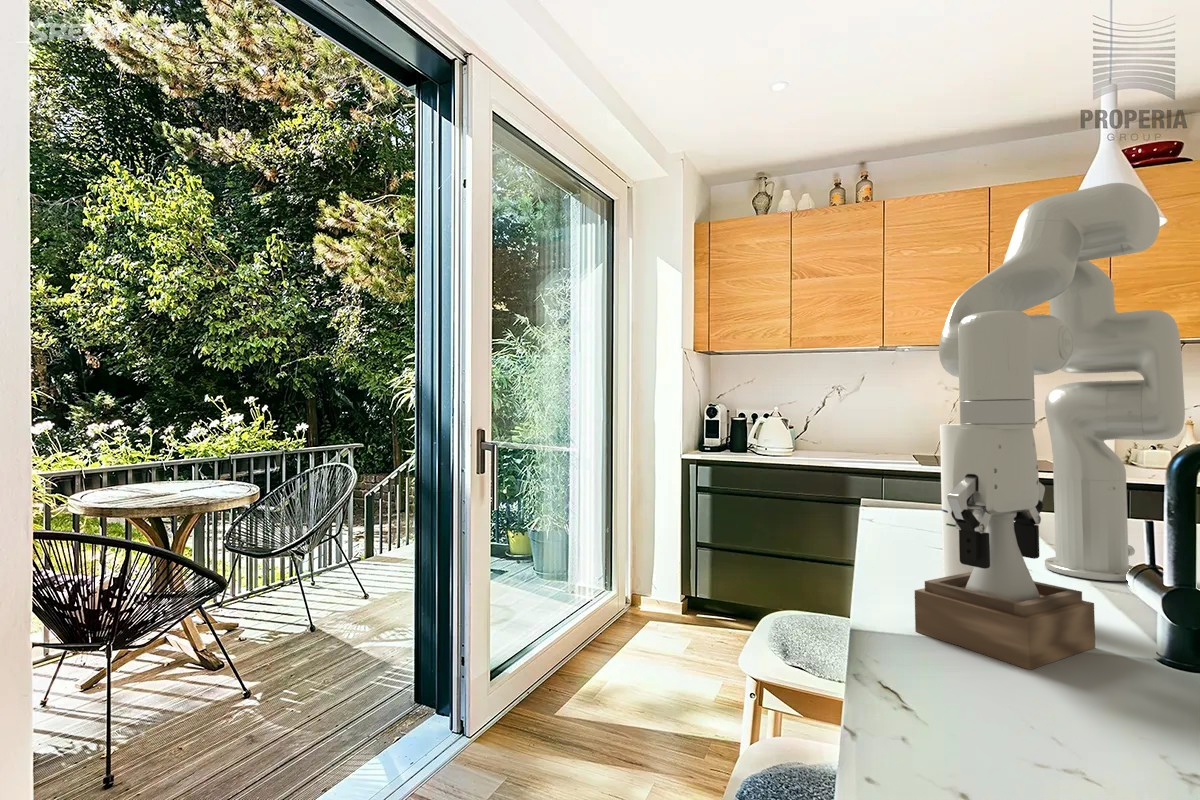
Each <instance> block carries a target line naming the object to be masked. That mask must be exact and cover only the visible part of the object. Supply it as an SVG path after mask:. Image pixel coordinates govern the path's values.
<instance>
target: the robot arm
mask: <svg viewBox="0 0 1200 800" xmlns="http://www.w3.org/2000/svg"><path fill="white" fill-rule="evenodd" d="M1160 222H1161V220H1160V214H1159V210H1158V207H1157V205H1156V203H1155V202H1154V200H1153V199H1152V198H1151V197H1150V196H1149V195H1148V194H1147V193H1146V192H1145V191H1143V190H1142V189H1141V188H1139V187H1137V186H1135V185H1133V184H1130V183H1123V182H1111V183H1110V182H1109V183H1105V184H1100V185H1097V186H1092V187H1089V188H1084V189H1079V190H1074V191H1070V192H1066V193H1062V194H1056V195H1052V196H1048V197H1045V198H1042V199H1038V200H1037V201H1035V202H1033V203H1031V204H1029V205H1028V206H1027V207H1026V208H1025V209H1023V211H1022V212H1021V213H1020V215H1019V216H1018V218H1017V221H1016V223H1015V226H1014V229H1013V232H1012V236H1011V238H1010V241H1009V244H1008V248H1007V251H1006V253H1005V256H1004V259H1003V263H1002V264H1001V265H999V266H998V267H996V268H995V269H994V270H992V271H990V272H989V273H986V275H985V276H983V277H982V278H981V279H979V280H978V281H977V282H975V283H974V284H972V285H971V286H969V287H968V288H967V289H966V290H964V291H963V292H962V293H961V294H959V296H958V297H957V299H956V300H955V301H954V303H953V304H952V305H951V308H950V310H949V312H948V315H947V317H946V320H945V322H944V326H943V327H942V331H941V333H940V334H941V335H940V338H939V345H938V356H939V361H940V364H941V365H942V368H943V369H944V370H945V371H946V372H947V373H948V374H949V375H951V376H953V377H956V378H958V381H959V382H958V388H959V389H958V390H959V393H958V394H959V424H960V428H959V429H958V433H957V438H956V444H955V452H954V464H953V490H952V491H951V492H950V493H949V494H948V496H947V499H948V502H949V505H950V507H951V510H952V512H951V514H952V517H953V519H954V520H955V521H956V524H955V525H956V528H957V529H958V530H959V554H960V562H961V563H962V564H965V565H969V566H974V567H979V568H983V569H986V568H989V567H990V544H989V533H985V532H984V531H985V529H986V527H987V525H988V523H989V520H990V518H991V516H992V515H999V514H1007V513H1014V512H1017V515H1016V517H1014V531H1015V536H1016V540H1017V544H1018V547H1019V549H1020V552H1021V554H1022V556H1023V558H1029V559H1032V560H1033V559H1034V560H1035V559H1038V558H1040V526H1039V525H1040V524H1041V521H1042V518H1041V515H1040V514H1041V512H1042V510H1043V506H1044V504H1043V499H1044V496H1045V493H1046V492H1045V491H1046V487H1045V486H1044V484H1042V483H1041V482H1040V481H1039V480H1040V479H1039V478H1040V477H1039V465H1038V464H1039V463H1038V455H1037V447H1036V442H1035V435H1034V431H1033V430H1034V429H1036V410H1035V409H1036V408H1035V405H1036V404H1035V403H1036V402H1035V376H1040V375H1047V374H1051V373H1054V372H1057V371H1059V370H1060V371H1062V372H1065V373H1068V374H1102V373H1103V374H1106V373H1109V374H1110V373H1128V372H1129V373H1131V372H1133V373H1138V374H1139V375H1141V376H1142V378H1143V379H1132V380H1131V379H1130V380H1129V379H1127V380H1095V381H1093V380H1092V381H1091V380H1090V381H1077V382H1075V381H1074V382H1069V383H1063V384H1061V385H1060V384H1059V386H1058V385H1057V386H1056V387H1054V388H1053V389H1051V390H1050V391H1049V392H1048V394H1047V395H1046V398H1045V401H1044V411H1045V412H1044V413H1045V418H1046V422H1047V427H1048V432H1049V437H1050V442H1051V452H1052V468H1053V471H1052V472H1053V503H1054V504H1053V505H1054V507H1053V508H1054V512H1053V513H1054V541H1055V542H1054V545H1055V548H1054V549H1055V552H1054V553H1055V556H1053V557H1048V558H1045V560H1044V567H1045V568H1046V569H1047V570H1050V571H1052V572H1054V573H1058V574H1060V575H1065V576H1070V577H1073V578H1081V579H1088V580H1096V581H1097V580H1098V581H1106V582H1107V581H1108V582H1127V581H1126V574H1127V572H1128V571H1129V569H1131V568H1132V567H1135V566H1133V565H1131V564H1129V559H1130V558H1129V557H1132V556H1134V554H1135V552H1136V550H1135V548H1134V547H1133V546H1132V545H1130V544H1129V532H1128V531H1129V530H1128V529H1129V527H1128V499H1127V496H1128V495H1127V471H1126V470H1127V469H1126V466H1125V464H1124V462H1123V461H1122V459H1121V457H1119V455H1118V454H1116V452H1115V451H1114V450H1112V449H1111V448H1110V447H1109V446H1108V445H1107V444H1106V443H1105V441H1109V440H1110V441H1112V440H1113V441H1114V440H1127V441H1128V440H1129V441H1130V440H1132V441H1136V440H1137V441H1138V440H1139V441H1148V440H1149V441H1157V440H1158V441H1161V440H1168V439H1173V438H1175V437H1177V436H1179V435H1180V434H1181V432H1182V431H1183V429H1184V424H1185V418H1186V417H1185V415H1186V412H1185V408H1186V407H1185V405H1186V404H1185V393H1184V392H1185V390H1184V375H1183V374H1184V372H1183V371H1184V370H1183V358H1182V355H1183V354H1182V344H1181V343H1182V342H1181V336H1180V331H1179V327H1178V324H1177V322H1176V320H1175V318H1174V317H1173V316H1172V315H1171V314H1169V313H1168V312H1166V311H1162V310H1157V309H1145V310H1132V311H1123V312H1117V310H1116V306H1115V294H1114V293H1115V292H1114V282H1113V281H1112V279H1111V278H1110V277H1109V276H1108V275H1107V274H1106V272H1104V270H1102V269H1101V268H1100V267H1099V266H1097V265H1096V264H1095V263H1093V262H1091V261H1094V260H1100V259H1101V260H1102V259H1107V258H1113V257H1119V256H1125V255H1132V254H1137V253H1141V252H1145V251H1146V250H1148V249H1150V248H1151V247H1152V246H1153V245H1154V244H1155V242H1156V240H1157V238H1158V236H1159V233H1160V227H1161V226H1160V224H1161V223H1160ZM1046 302H1048V303H1049V304H1048V308H1049V314H1040V313H1039V314H1030V315H1029V314H1028V313H1026V312H1025V311H1027V310H1029V309H1032V308H1035V307H1036V306H1039V305H1042V304H1044V303H1046ZM973 514H978V515H979V517H978V519H976V518H975V516H974V515H973Z"/></svg>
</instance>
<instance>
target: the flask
mask: <svg viewBox="0 0 1200 800" xmlns="http://www.w3.org/2000/svg"><path fill="white" fill-rule="evenodd" d="M1016 515H1017V512H1014V513H1007V514H999V515H992V516H991V518H990V520H989V523H988V525H987V527H986V532H985V533H989V544H990V567H989V568H986V569H983V568H979V567H974V569H973V571H972V573H971V576H970V578H969V580H968V583H967V585H966V588H965V589H968V590H972V591H976V592H980V593H984V594H988V595H992V596H996V597H1000V598H1004V599H1008V600H1012V601H1016V602H1023V601H1027V600H1031V599H1035V598H1040V595H1039V592H1038V590H1037V588H1036V586H1035V583H1034V581H1035V580H1034V579H1033V578H1032V575H1031V573H1030V571H1029V568H1028V566H1027V563H1026V562H1025V559H1024V557H1023V556H1022V554H1021V552H1020V549H1019V547H1018V544H1017V540H1016V536H1015V531H1014V522H1015V521H1014V517H1016Z"/></svg>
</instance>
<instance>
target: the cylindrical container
mask: <svg viewBox="0 0 1200 800" xmlns="http://www.w3.org/2000/svg"><path fill="white" fill-rule="evenodd" d="M960 424H961V423H956V424H955V423H952V424H951V423H950V424H949V423H947V424H945V423H944V424H943V423H942V424H939V441H940V442H939V443H940V444H939V445H940V446H939V447H940V448H939V449H940V485H941V487H940V488H941V489H940V490H941V491H940V492H941V497H940V498H941V530H942V531H941V534H942V535H941V536H942V537H941V538H942V572H943V574H942V576H943V577H948V576H953V575H958V574H963V573H968V572H972V571H973V569H974V566H969V565H965V564H962V563H961V562H960V554H959V530H958V529H957V528H956V525H955V524H956V521H955V520H954V519H953V517H952V514H951V512H952V510H951V507H950V505H949V502H948V499H947V496H948V494H949V493H950V492H951V491H952V490H953V464H954V452H955V444H956V438H957V433H958V429H959V428H960ZM973 515H974V516H975V518H976V519H978V517H979V515H978V514H973ZM984 532H986V529H985V531H984ZM943 577H942V578H943Z"/></svg>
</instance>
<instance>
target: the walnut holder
mask: <svg viewBox="0 0 1200 800" xmlns="http://www.w3.org/2000/svg"><path fill="white" fill-rule="evenodd" d="M971 573H972V572H968V573H963V574H958V575H953V576H948V577H938V578H932V579H929V580H924V588H919V589H914V617H915V618H914V619H915V622H914V624H915V625H914V626H915V627H914V629H915V632H916V633H919V634H922V635H925V636H927V637H931V638H934V639H937V640H939V639H940V641H942V640H943V642H945V641H946V642H945V643H948V642H949V643H948V644H951V643H953V644H952V645H954V644H955V646H957V645H959V646H958V647H960V646H962V647H961V648H963V647H965V648H964V649H966V648H967V649H966V650H969V649H970V650H969V651H972V650H973V651H972V652H976V653H978V654H981V655H984V656H987V657H990V658H993V659H997V660H1000V661H1002V662H1005V663H1008V664H1011V665H1014V666H1017V667H1020V668H1023V669H1025V670H1029V671H1030V670H1032V669H1033V670H1034V669H1036V668H1039V667H1041V666H1045V665H1048V664H1050V663H1054V662H1056V661H1059V660H1062V659H1065V658H1068V657H1071V656H1074V655H1077V654H1080V653H1083V652H1086V651H1089V650H1093V649H1096V628H1095V627H1096V625H1095V624H1096V623H1095V620H1096V619H1095V602H1091V601H1087V600H1083V591H1081V590H1076V589H1073V588H1072V589H1071V588H1067V587H1062V586H1058V585H1055V584H1054V585H1053V584H1049V583H1044V582H1041V581H1035V580H1033V581H1034V583H1035V586H1036V588H1037V590H1038V592H1039V595H1040V598H1035V599H1031V600H1027V601H1023V602H1016V601H1012V600H1008V599H1004V598H1000V597H996V596H992V595H988V594H984V593H980V592H976V591H972V590H968V589H965V588H966V585H967V583H968V580H969V578H970V576H971Z"/></svg>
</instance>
